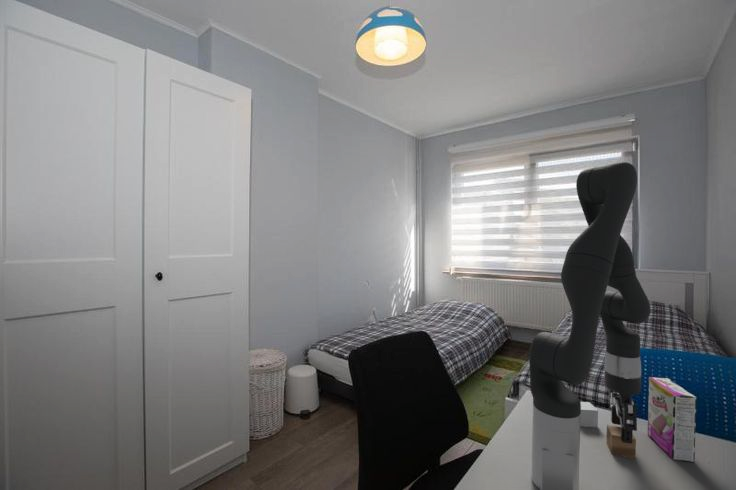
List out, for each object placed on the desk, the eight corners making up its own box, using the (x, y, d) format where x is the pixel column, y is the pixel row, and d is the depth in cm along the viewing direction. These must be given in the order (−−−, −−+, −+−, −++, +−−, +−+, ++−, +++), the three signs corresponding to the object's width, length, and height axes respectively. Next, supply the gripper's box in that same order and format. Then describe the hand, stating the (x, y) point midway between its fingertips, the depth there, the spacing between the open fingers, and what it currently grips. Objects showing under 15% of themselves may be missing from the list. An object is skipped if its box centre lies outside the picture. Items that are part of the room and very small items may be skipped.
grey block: (597, 427, 100) (598, 410, 100) (579, 426, 101) (579, 409, 101) (589, 418, 105) (589, 402, 105) (571, 417, 106) (571, 401, 106)
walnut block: (635, 459, 86) (635, 439, 86) (611, 454, 88) (611, 434, 88) (629, 447, 91) (629, 428, 91) (606, 443, 93) (606, 424, 93)
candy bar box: (645, 434, 97) (647, 376, 96) (666, 436, 96) (668, 377, 95) (672, 460, 86) (674, 394, 85) (695, 463, 85) (698, 396, 84)
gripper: (598, 359, 97) (597, 416, 98) (612, 380, 84) (611, 445, 85) (631, 362, 94) (630, 421, 95) (651, 384, 81) (649, 452, 82)
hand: (621, 432), depth 90 cm, fingers open, 8 cm apart
